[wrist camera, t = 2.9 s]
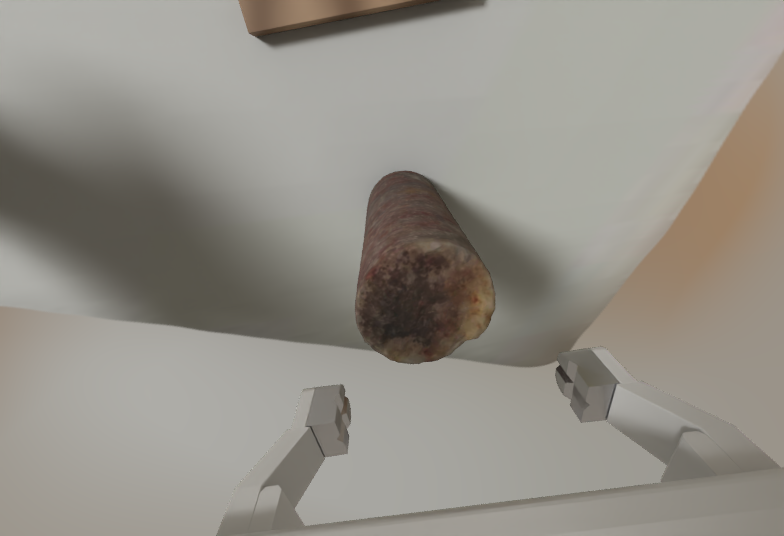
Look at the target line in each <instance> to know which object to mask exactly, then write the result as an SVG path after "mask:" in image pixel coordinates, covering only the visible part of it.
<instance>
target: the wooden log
mask: <svg viewBox="0 0 784 536" xmlns="http://www.w3.org/2000/svg"><path fill="white" fill-rule="evenodd" d="M494 310H495V291H494V287H493V282H492V279H491V276H490V273H489V271H488V270H487V268H486V267H485V265H484V264H483V262H482V261H481V259H480V257H479V256H478V254H477V252H476V251H475V249H474V248H473V246H472V245H471V243H470V242H469V240H468V239H467V237H466V235H465V234H464V233H463V231H462V230H461V228H460V227H459V225H458V223H457V222H456V220H455V219H454V218H453V216H452V214H451V213H450V211H449V210H448V208H447V207H446V205H445V203H444V202H443V200H442V199H441V197H440V196H439V194H438V193H437V191H436V189H435V188H434V186H433V185H432V184H431V183H430V181H429V180H428V179H427V178H425V177H424V176H422V175H420V174H418V173H416V172H412V171H398V172H393V173H390V174H388V175H386V176H384V177H383V178H382V179H381V180H380V181H379V182H378V183H377V184H376V185H375V187H374V188H373V190H372V192H371V194H370V197H369V202H368V207H367V216H366V225H365V235H364V243H363V250H362V258H361V264H360V272H359V278H358V284H357V294H356V300H355V314H356V322H357V326H358V329H359V331H360V333H361V335H362V336H363V338H364V341H365V342H366V343H367V344H368V345H370V346H371V347H372V348H373V349H374V350H375V351H377V352H378V353H380V354H382V355H384V356H385V357H387V358H388V359H390V360H392V361H396V362H399V363H408V364H419V363H422V362H431V361H436V360H439V359H441V358H443V357H445V356H447V355H450V354H451V353H452V352H453V351H454V350H455V349H456V348H458V347H459V346H460V345H461V344H463V343H464V342H465V341H467V340H471V339H476V338H478V337H479V336H480V335H481V334H482V333H483V332H484V331H485V330H486V329H487V327H488V325H489V323H490V321H491V316H492V314H493V312H494Z"/></svg>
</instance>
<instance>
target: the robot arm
mask: <svg viewBox="0 0 784 536" xmlns="http://www.w3.org/2000/svg"><path fill="white" fill-rule="evenodd" d="M557 361H558V362H559V364H560V365H559V366H558V367H557V368H556V375H555V376H556V381H557V384H558V386H559V388H560V390H561V392H562V393H563V395H564V396H566V397H568V398H569V399H571V404H570V406H571V407H572V409H573V411H574V412H575V414H576V415H577V417H578V418H579V420H580V422H581V423H582V422H592V421H602V420H607V422H608V423H609V424H611V425H612V426H614V427H615V428H616V429H618V430H619V431H620V432H622V433H623V434H625V435H626V436H627V437H629V438H630V439H631V440H633V441H634V442H636V443H637V444H638V445H640V446H642V447H643V448H644V449H645V450H647V451H648V452H649V453H651V454H652V455H654V456H655V457H657V458H658V459H659V460H660V461H662V462H663V463H665V464H666V465H667V467H666V469H665V471H664V473H663V475H662V478H661V483H653V484H645V485H637V486H629V487H621V488H613V489H604V490H596V491H588V492H580V493H571V494H563V495H555V496H547V497H538V498H530V499H522V500H513V501H505V502H497V503H489V504H481V505H473V506H465V507H456V508H448V509H440V510H432V511H424V512H416V513H409V514H400V515H392V516H383V517H375V518H367V519H359V520H351V521H343V522H334V523H326V524H319V525H310V526H305V525H304V524H303V522H302V521H301V519H300V517H299V516H298V514H297V513H296V511H295V507H296V505H297V504H298V502H299V500H300V499H301V497H302V496H303V494H304V492H305V491H306V489H307V487H308V486H309V484H310V482H311V481H312V479H313V478H314V476H315V474H316V473H317V471H318V469H319V468H320V466H321V464H322V463H323V461H324V460H325V458H324V457H329V456H336V455H342V454H347V453H348V443H349V434H348V431H347V428H348V427H349V425H350V422H351V421H350V420H351V408H350V403H349V400H348V398H347V397H345V389H344V386H343V385H332V386H323V387H316V388H308V389H303V391H302V392H301V395H300V398H299V402H298V405H297V409H296V413H295V416H294V420H293V424H292V427H291V429H289V430H286V431H285V433H284V434H283V435H282V436H281V437H280V438H279V439H278V440H277V442H276V443H275V444H274V445H273V446H272V447H271V449H270V450H269V451H268V452H267V453H266V454H265V455H264V456H263V457H262V459H261V460H260V461H259V462H258V463H257V464H256V465H255V466H254V468H253V469H252V470H251V471H250V472H249V473H248V474H247V475H246V477H245V478H244V479H243V480H242V481H241V482H240V483H239V485H238V486H237V487H236V488H235V489H234V491H233V494H232V496H231V499H230V501H229V504H228V507H227V509H226V512H225V515H224V517H223V520H222V522H221V525H220V527H219V530H218V533H217V535H216V536H784V467H783V468H781V467H780V466H779V465H778V464H777V463H775V461H773V460H772V459H771V458H770V457H769V456H768V455H767V454H766V453H765V452H763V451H762V450H761V449H760V448H759V447H758V446H756V444H754V443H753V442H752V441H751V440H750V439H749V438H748V437H747V436H746V435H744V434H743V433H742V432H741V431H740V430H739V429H738V428H737V427H736V426H734V425H733V424H731V423H729V422H726V421H724V420H722V419H720V418H718V417H716V416H714V415H712V414H710V413H708V412H706V411H703V410H701V409H699V408H697V407H695V406H693V405H691V404H689V403H687V402H685V401H683V400H681V399H679V398H676V397H674V396H672V395H670V394H668V393H666V392H664V391H662V390H660V389H658V388H656V387H654V386H652V385H649V384H647V383H645V382H643V381H636V379H635V378H634V377H633V376H632V375H631V374H630V373H629V372H628V371H627V370H626V369H625V368H624V367H623V366H622V365H621V364H620V363H619V361H618V360H617V359H616V358H615V357H614V356H613V355H612V354H611V353H610V352H609V351H608V350H607V349H606V348H605V347H603V346H601V347H594V348H588V349H579V350H573V351H567V352H560V353H559V354H558V358H557Z"/></svg>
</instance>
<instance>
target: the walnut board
mask: <svg viewBox="0 0 784 536" xmlns="http://www.w3.org/2000/svg"><path fill="white" fill-rule="evenodd" d="M238 1H239V4H240V7H241V10H242V13H243V16H244V20H245V23H246V26H247V29H248V32H249V33H250V34H251V35H253V36H255V37H257V36H262V35H267V34H272V33H277V32H282V31H287V30H292V29H297V28H303V27H308V26H313V25H318V24H323V23H328V22H333V21H338V20H343V19H348V18H353V17H358V16H363V15H368V14H374V13H379V12H384V11H389V10H394V9H399V8H404V7H409V6H414V5H419V4H424V3H429V2H434V1H439V0H238Z"/></svg>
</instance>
